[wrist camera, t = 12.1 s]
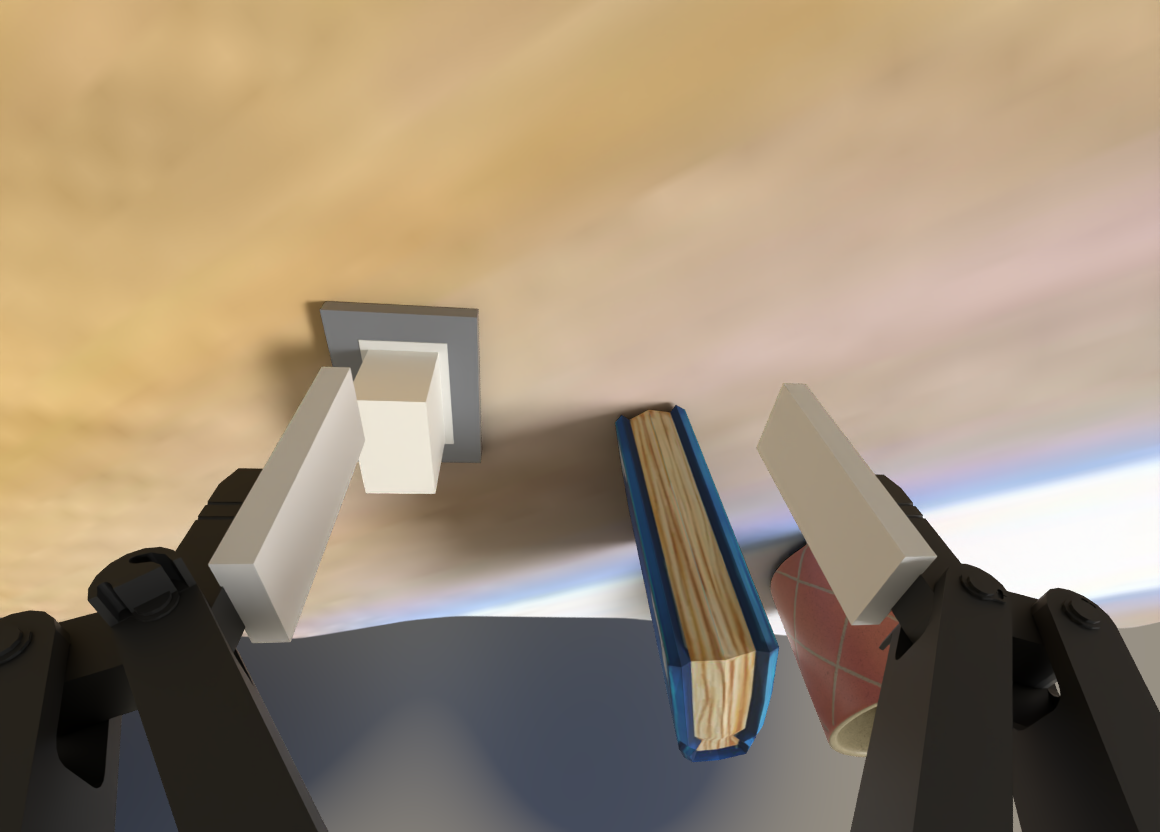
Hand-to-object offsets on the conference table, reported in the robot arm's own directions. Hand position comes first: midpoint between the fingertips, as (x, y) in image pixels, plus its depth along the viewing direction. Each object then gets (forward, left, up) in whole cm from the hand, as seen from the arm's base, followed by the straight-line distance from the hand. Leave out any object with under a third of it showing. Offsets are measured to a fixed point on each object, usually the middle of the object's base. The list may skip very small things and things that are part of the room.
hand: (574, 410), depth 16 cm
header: (+18, -11, -27) cm, 34 cm away
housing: (+18, -11, -25) cm, 33 cm away
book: (+30, +14, -27) cm, 43 cm away
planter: (+46, +42, -27) cm, 68 cm away
